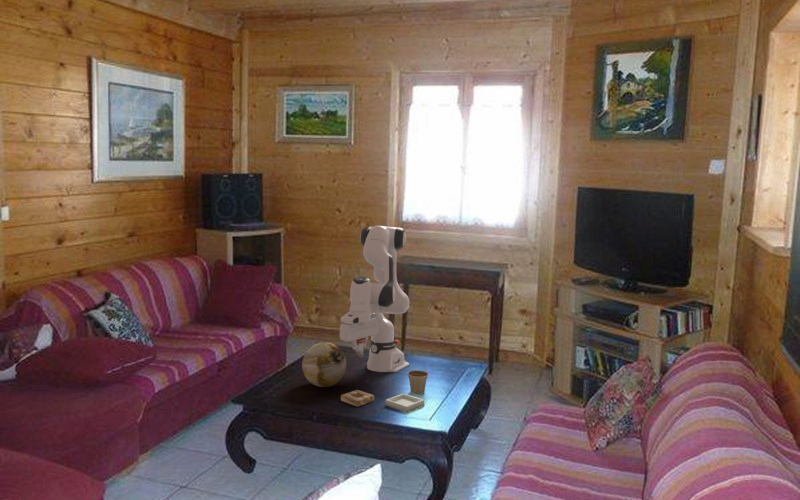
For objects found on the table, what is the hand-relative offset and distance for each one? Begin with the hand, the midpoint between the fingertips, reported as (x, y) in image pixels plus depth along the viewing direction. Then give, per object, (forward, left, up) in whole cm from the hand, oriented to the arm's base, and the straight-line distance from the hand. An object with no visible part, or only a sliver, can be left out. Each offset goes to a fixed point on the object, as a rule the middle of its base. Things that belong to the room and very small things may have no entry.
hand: (359, 348), depth 286 cm
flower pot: (-27, +11, -23) cm, 37 cm away
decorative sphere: (-3, -24, -23) cm, 34 cm away
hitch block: (0, 0, -23) cm, 23 cm away
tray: (-10, +18, -23) cm, 31 cm away
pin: (0, 0, -4) cm, 4 cm away
